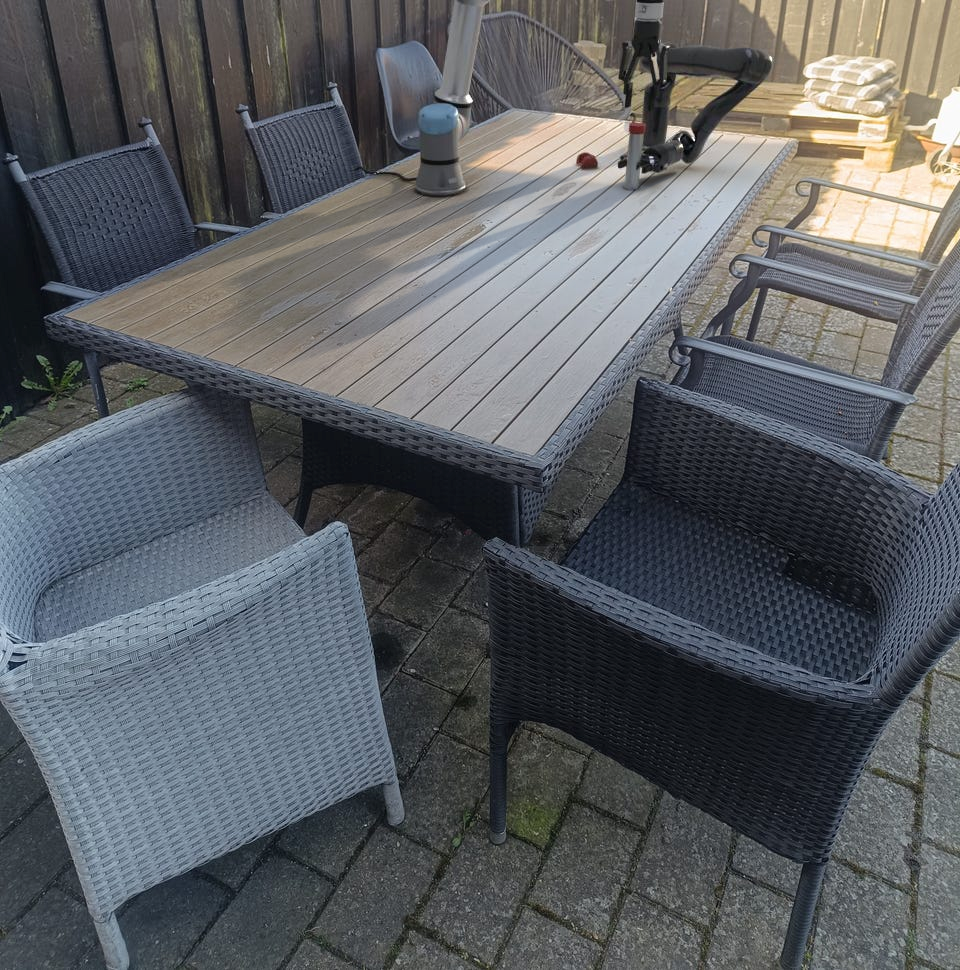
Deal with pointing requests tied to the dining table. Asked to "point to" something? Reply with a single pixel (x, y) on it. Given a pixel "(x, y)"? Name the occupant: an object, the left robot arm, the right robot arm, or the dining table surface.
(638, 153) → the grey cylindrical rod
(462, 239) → the dining table surface
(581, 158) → the dental model
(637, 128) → the lid
